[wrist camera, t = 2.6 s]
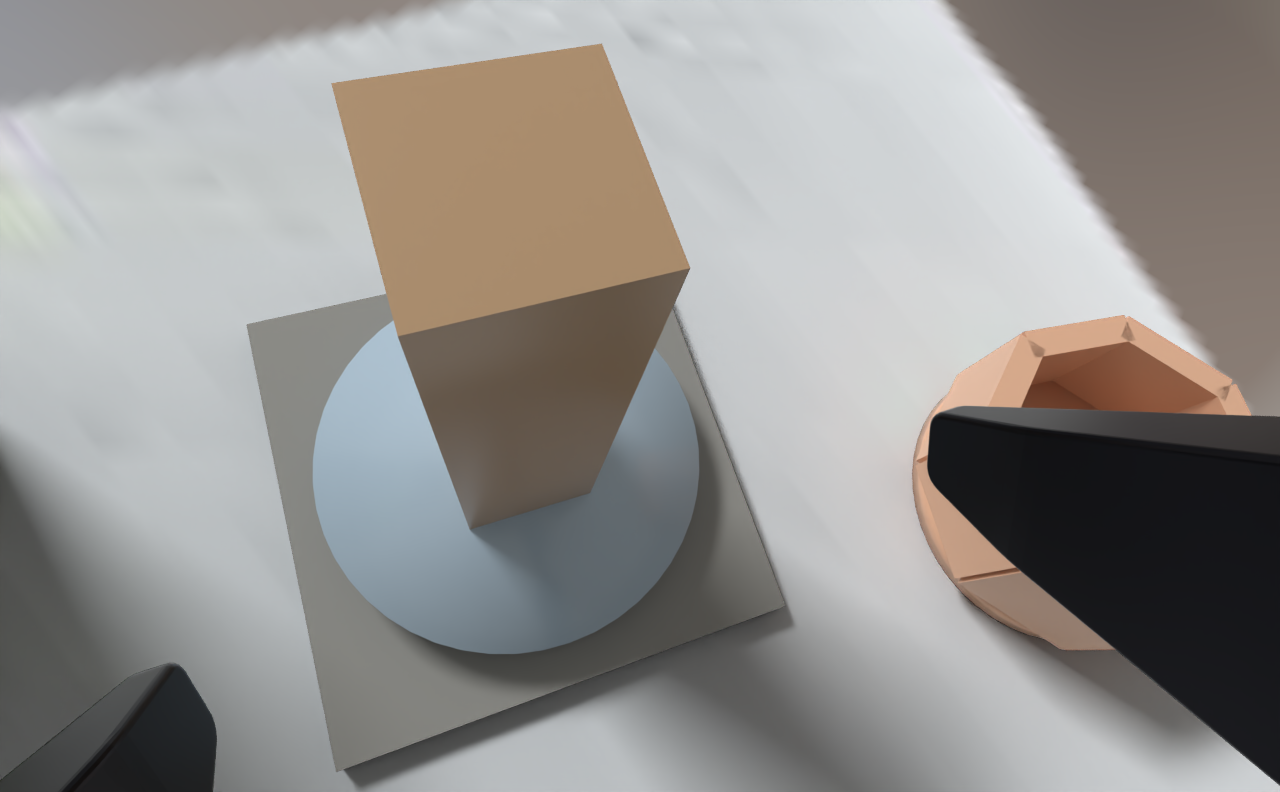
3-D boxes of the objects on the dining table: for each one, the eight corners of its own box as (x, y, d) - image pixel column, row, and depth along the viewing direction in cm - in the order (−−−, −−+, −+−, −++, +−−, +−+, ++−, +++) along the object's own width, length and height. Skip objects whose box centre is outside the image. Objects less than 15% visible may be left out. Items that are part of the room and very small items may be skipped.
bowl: (1207, 605, 23) (1341, 595, 19) (970, 672, 21) (1067, 675, 17) (1096, 354, 26) (1195, 303, 22) (876, 394, 24) (942, 345, 20)
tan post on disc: (739, 582, 20) (1078, 468, 8) (370, 713, 18) (48, 837, 6) (626, 271, 23) (749, -170, 11) (291, 347, 21) (-45, -111, 8)
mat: (778, 607, 21) (785, 605, 20) (342, 768, 18) (336, 771, 17) (642, 247, 24) (645, 237, 24) (253, 333, 21) (246, 324, 21)
